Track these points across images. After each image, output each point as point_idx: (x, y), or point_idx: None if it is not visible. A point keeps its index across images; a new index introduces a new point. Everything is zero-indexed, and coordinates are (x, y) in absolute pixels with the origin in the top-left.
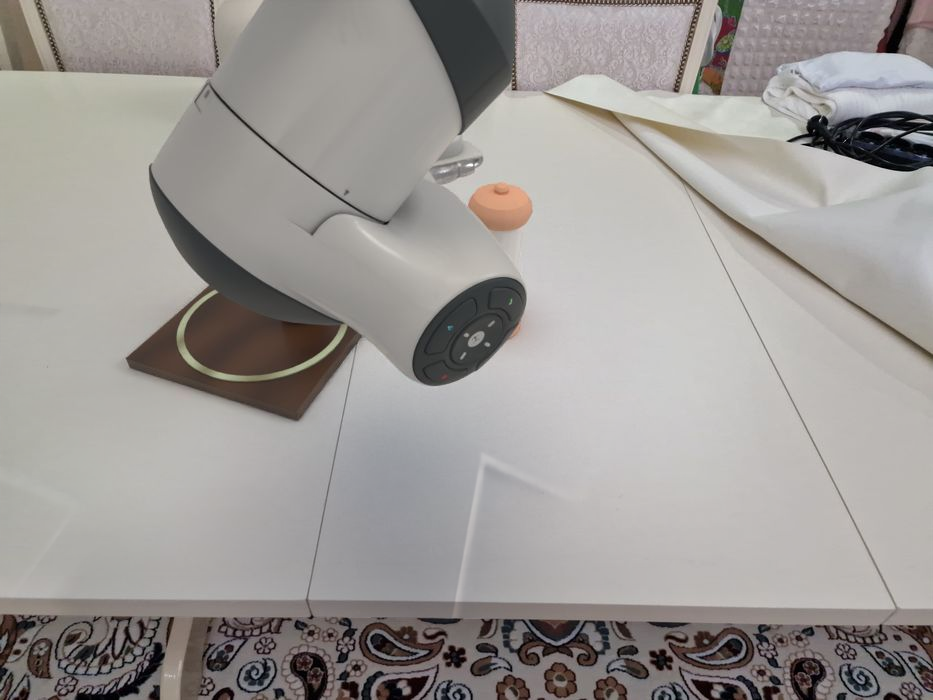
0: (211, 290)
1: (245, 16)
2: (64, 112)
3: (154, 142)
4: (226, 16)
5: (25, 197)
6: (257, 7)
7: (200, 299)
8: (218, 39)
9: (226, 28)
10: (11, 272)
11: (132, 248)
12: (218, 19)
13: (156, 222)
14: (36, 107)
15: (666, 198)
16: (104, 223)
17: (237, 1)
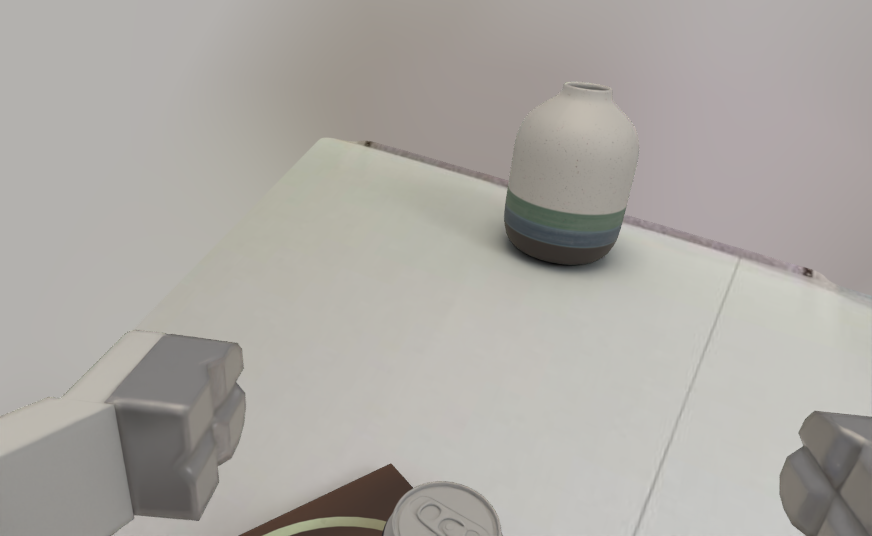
0: (302, 518)
1: (561, 121)
2: (337, 181)
3: (398, 236)
4: (537, 118)
5: (225, 256)
6: (580, 114)
7: (271, 532)
8: (517, 142)
9: (532, 131)
10: None
11: (269, 372)
12: (527, 120)
13: (326, 343)
14: (318, 170)
15: None
16: (269, 320)
17: (558, 103)
